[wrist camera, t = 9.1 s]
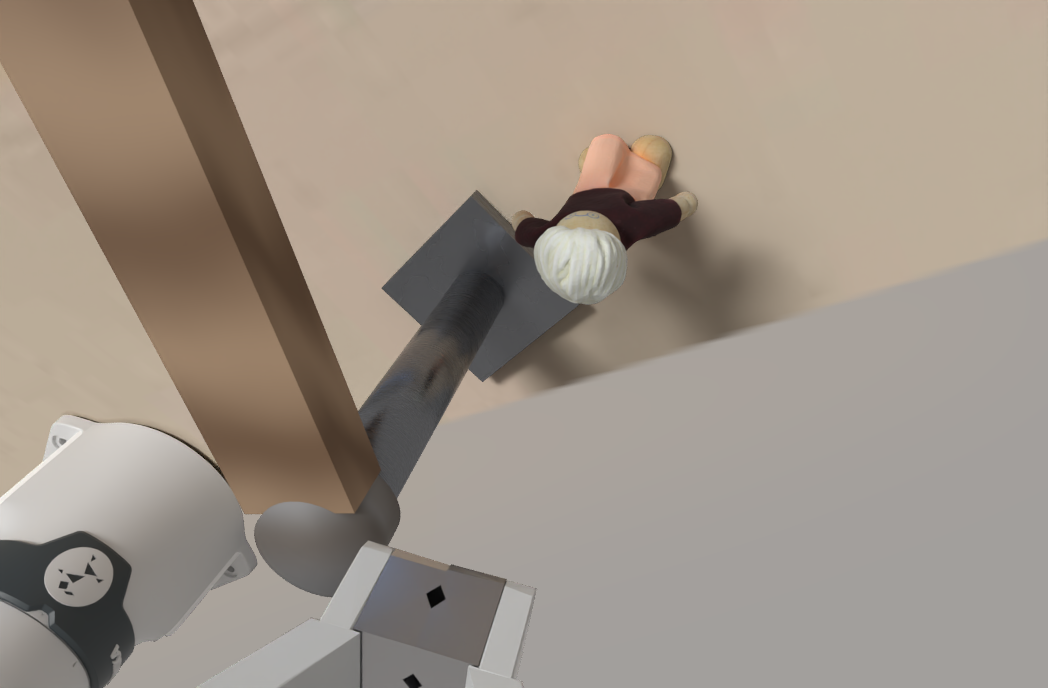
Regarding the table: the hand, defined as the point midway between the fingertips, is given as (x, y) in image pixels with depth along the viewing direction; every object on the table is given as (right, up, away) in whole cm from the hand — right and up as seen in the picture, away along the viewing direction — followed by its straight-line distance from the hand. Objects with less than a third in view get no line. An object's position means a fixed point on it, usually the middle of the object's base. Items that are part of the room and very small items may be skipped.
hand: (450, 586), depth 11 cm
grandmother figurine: (+6, +13, +22) cm, 26 cm away
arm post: (-1, +7, +26) cm, 27 cm away
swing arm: (-7, +6, +8) cm, 12 cm away
